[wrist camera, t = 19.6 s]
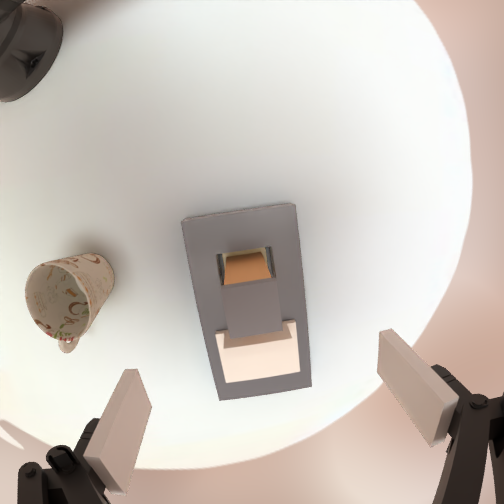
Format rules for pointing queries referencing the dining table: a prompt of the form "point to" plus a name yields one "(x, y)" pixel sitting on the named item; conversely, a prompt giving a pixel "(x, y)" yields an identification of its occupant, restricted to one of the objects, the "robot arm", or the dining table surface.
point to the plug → (250, 297)
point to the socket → (283, 265)
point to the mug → (68, 296)
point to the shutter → (259, 354)
